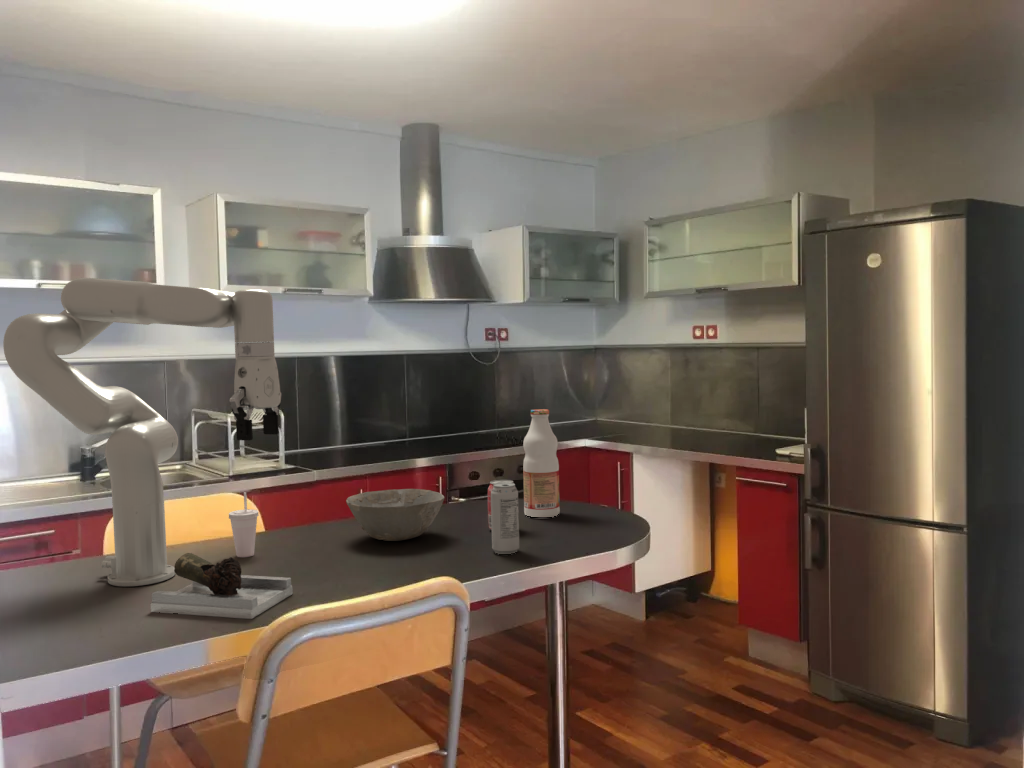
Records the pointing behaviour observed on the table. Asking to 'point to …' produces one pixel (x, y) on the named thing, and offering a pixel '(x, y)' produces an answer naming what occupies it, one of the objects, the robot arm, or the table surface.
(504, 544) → the energy drink can
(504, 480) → the soda can
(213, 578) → the dark piece
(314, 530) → the table surface
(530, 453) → the fruit juice
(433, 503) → the ceramic bowl
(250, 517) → the smoothie
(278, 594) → the grey rectangular tray
